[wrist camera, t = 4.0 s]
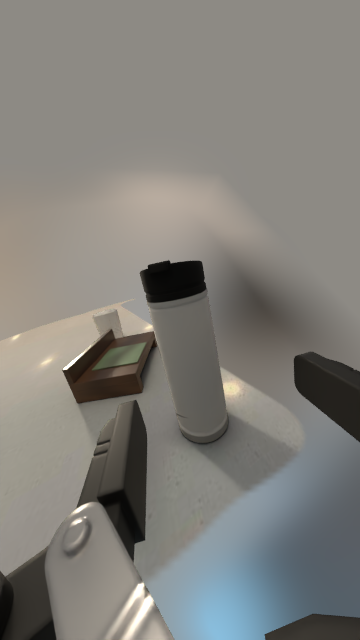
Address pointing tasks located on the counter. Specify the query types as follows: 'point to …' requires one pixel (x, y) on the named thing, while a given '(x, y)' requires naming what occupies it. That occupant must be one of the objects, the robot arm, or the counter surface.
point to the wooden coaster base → (109, 367)
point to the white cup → (108, 322)
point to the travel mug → (187, 346)
